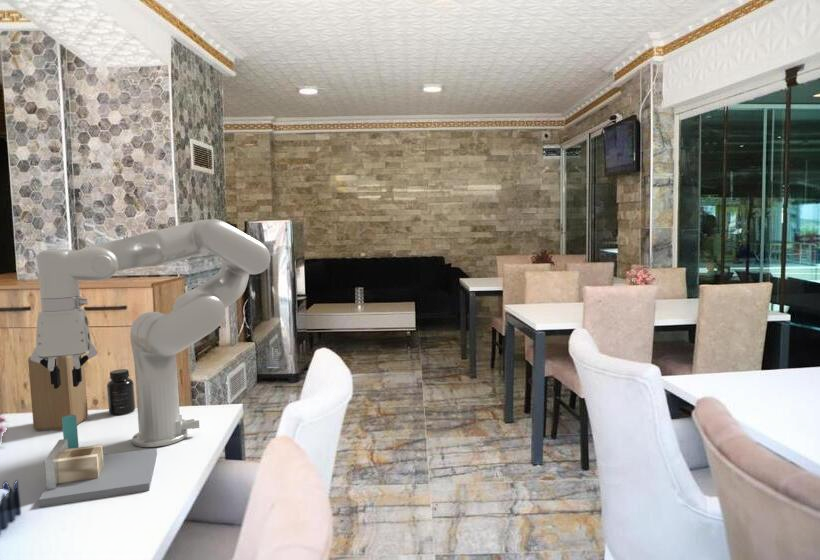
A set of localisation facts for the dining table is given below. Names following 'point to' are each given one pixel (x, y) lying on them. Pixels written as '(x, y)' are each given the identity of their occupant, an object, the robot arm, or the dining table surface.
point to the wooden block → (56, 395)
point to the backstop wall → (54, 464)
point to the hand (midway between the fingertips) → (66, 385)
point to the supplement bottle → (120, 393)
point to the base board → (108, 479)
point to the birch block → (80, 463)
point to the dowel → (70, 430)
